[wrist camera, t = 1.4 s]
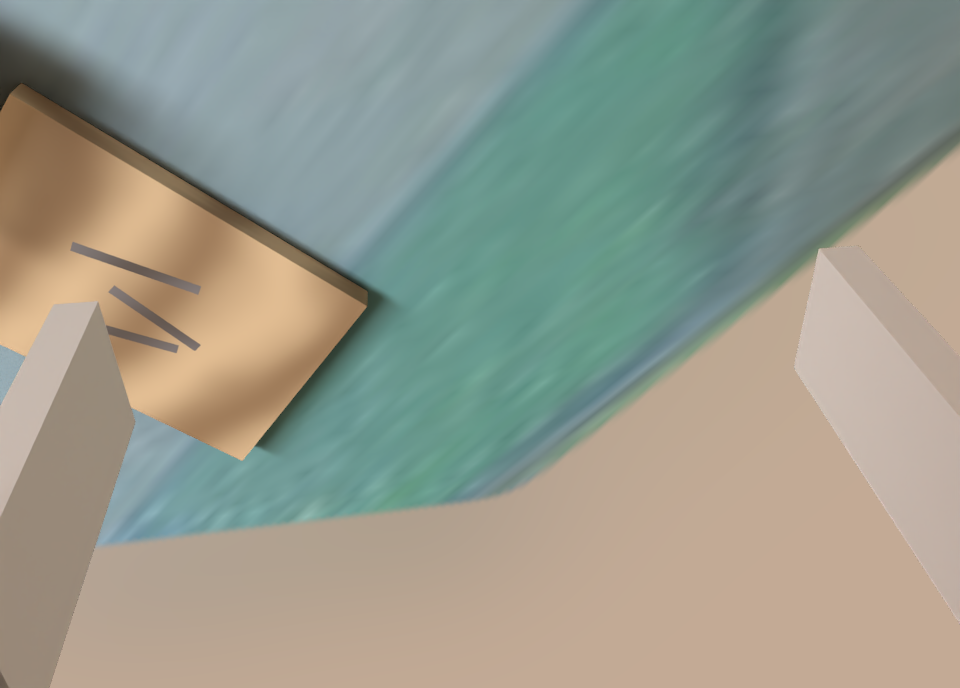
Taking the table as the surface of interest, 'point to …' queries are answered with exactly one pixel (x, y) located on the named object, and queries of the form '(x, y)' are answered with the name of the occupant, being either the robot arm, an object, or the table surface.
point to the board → (159, 278)
